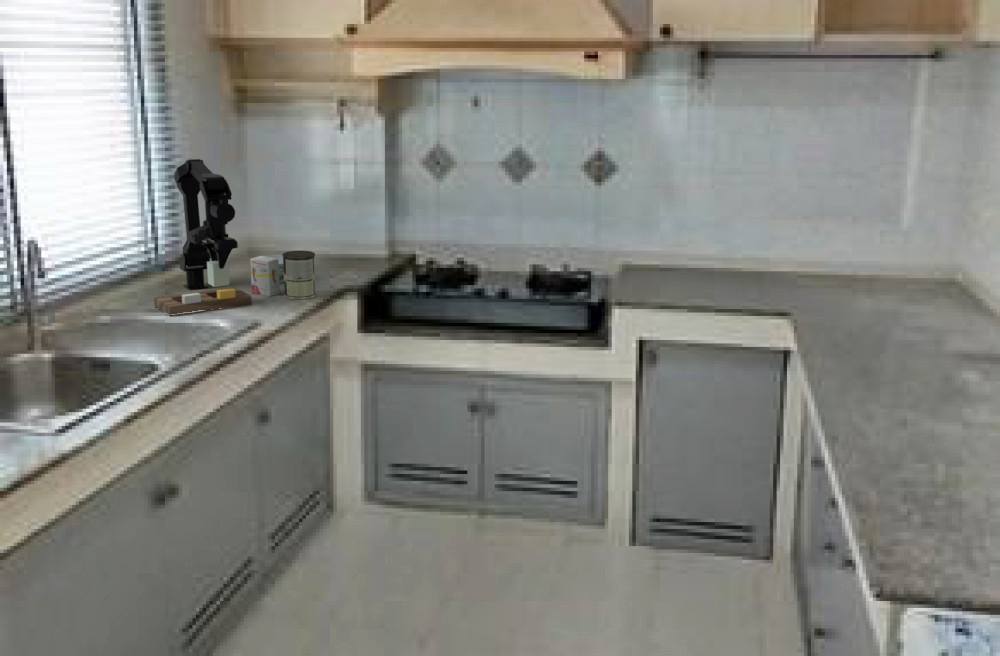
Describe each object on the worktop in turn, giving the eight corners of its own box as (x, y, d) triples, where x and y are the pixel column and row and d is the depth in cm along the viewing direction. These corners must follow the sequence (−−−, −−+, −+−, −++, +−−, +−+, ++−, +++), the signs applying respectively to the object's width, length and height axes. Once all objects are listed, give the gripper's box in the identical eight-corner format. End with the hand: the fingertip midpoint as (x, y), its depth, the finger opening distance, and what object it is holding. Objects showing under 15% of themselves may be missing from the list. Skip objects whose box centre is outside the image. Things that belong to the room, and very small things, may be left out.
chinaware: (244, 279, 343) (243, 258, 341) (284, 274, 352) (283, 253, 350) (262, 288, 332) (261, 266, 330) (303, 283, 340) (302, 261, 338)
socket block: (154, 307, 305) (153, 290, 304) (234, 296, 320) (234, 280, 319) (169, 316, 295) (168, 298, 294) (251, 304, 311) (250, 288, 309)
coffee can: (277, 295, 323) (276, 253, 319) (304, 290, 330) (303, 249, 326) (295, 301, 316) (294, 258, 312) (322, 296, 323) (321, 254, 319)
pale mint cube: (208, 283, 310) (206, 261, 308) (223, 281, 313) (222, 260, 311) (214, 286, 306) (213, 264, 304) (229, 284, 309) (228, 263, 307)
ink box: (250, 292, 325) (249, 257, 322) (261, 290, 329) (260, 255, 326) (269, 296, 321) (268, 261, 318) (280, 293, 325) (279, 258, 322)
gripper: (178, 215, 306) (182, 264, 310) (201, 224, 292) (204, 275, 296) (213, 212, 313) (216, 260, 317) (237, 221, 298) (239, 271, 303)
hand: (218, 266), depth 308 cm, fingers closed on pale mint cube, 5 cm apart
